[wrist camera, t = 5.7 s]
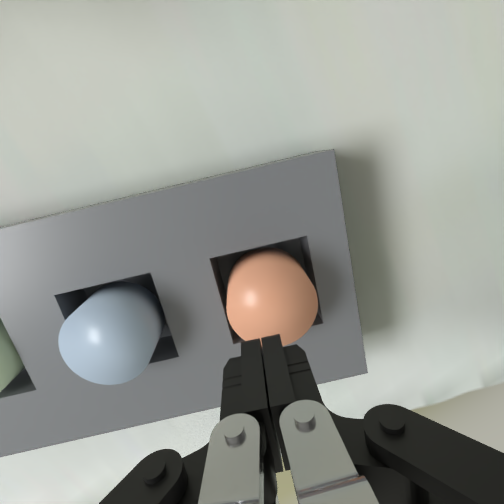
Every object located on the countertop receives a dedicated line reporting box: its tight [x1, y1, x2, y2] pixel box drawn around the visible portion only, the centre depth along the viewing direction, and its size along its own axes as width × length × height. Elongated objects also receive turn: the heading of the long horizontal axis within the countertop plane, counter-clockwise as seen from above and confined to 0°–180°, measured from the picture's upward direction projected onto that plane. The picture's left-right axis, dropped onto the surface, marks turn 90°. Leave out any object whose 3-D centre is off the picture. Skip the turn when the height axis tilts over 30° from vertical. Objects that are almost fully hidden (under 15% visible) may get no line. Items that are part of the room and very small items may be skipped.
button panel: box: [0, 149, 368, 457], centre depth 21 cm, size 28×14×4 cm, turn 103°
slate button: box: [58, 282, 165, 385], centre depth 18 cm, size 5×5×3 cm
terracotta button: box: [226, 247, 318, 346], centre depth 18 cm, size 5×5×3 cm
